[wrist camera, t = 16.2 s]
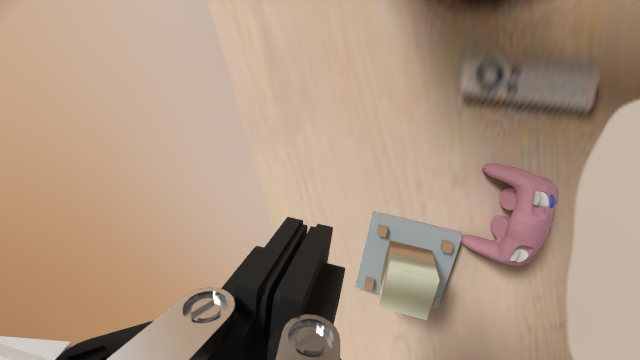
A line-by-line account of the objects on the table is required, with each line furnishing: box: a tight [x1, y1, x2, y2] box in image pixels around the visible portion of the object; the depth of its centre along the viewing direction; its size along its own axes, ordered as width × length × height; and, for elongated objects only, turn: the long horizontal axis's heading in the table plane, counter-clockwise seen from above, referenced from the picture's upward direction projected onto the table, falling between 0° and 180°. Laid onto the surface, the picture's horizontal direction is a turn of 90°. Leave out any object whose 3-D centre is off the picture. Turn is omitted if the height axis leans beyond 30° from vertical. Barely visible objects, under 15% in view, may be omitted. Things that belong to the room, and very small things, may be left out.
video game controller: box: [461, 164, 558, 266], centre depth 31 cm, size 10×5×7 cm, turn 172°
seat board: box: [356, 211, 462, 310], centre depth 36 cm, size 10×10×2 cm
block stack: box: [379, 240, 440, 321], centre depth 33 cm, size 5×5×6 cm
